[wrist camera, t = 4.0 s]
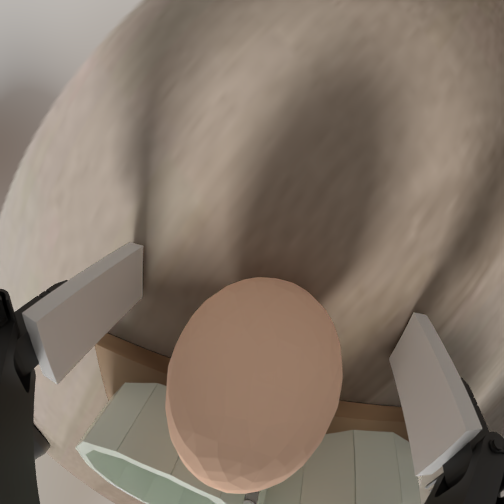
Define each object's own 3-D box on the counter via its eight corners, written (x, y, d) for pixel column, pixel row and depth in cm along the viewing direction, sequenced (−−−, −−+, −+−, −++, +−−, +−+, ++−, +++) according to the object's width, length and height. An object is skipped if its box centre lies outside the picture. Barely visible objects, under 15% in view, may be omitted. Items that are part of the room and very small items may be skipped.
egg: (208, 337, 13) (131, 482, 6) (222, 234, 11) (89, 380, 4) (313, 363, 13) (302, 526, 5) (351, 265, 11) (400, 456, 3)
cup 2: (254, 481, 17) (242, 532, 12) (290, 420, 13) (278, 502, 8) (368, 491, 16) (368, 538, 11) (438, 431, 12) (452, 494, 7)
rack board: (127, 431, 19) (121, 440, 18) (105, 331, 15) (94, 343, 14) (367, 484, 17) (367, 495, 16) (448, 408, 13) (453, 421, 11)
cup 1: (125, 438, 18) (99, 480, 13) (104, 359, 14) (56, 415, 9) (241, 478, 17) (226, 529, 12) (270, 416, 13) (253, 498, 8)
